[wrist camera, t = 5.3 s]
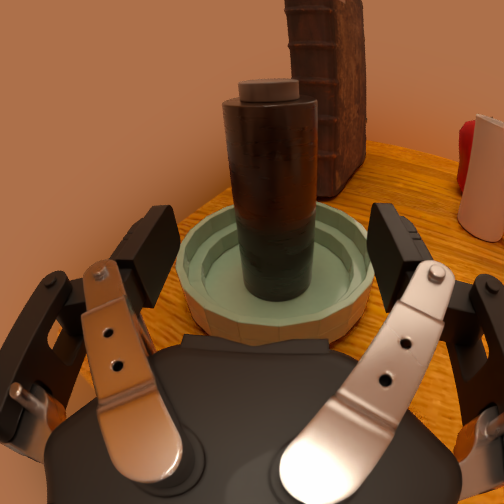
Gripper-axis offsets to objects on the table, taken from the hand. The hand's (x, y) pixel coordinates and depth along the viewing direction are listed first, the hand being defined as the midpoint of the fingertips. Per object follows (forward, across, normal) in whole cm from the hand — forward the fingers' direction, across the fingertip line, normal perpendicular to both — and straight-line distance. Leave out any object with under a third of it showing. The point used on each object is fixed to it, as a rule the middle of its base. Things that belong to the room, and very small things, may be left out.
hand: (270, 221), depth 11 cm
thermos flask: (+5, 0, +8) cm, 10 cm away
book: (+26, -6, +9) cm, 28 cm away
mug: (+12, -24, +9) cm, 28 cm away
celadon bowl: (+5, 0, +8) cm, 10 cm away
